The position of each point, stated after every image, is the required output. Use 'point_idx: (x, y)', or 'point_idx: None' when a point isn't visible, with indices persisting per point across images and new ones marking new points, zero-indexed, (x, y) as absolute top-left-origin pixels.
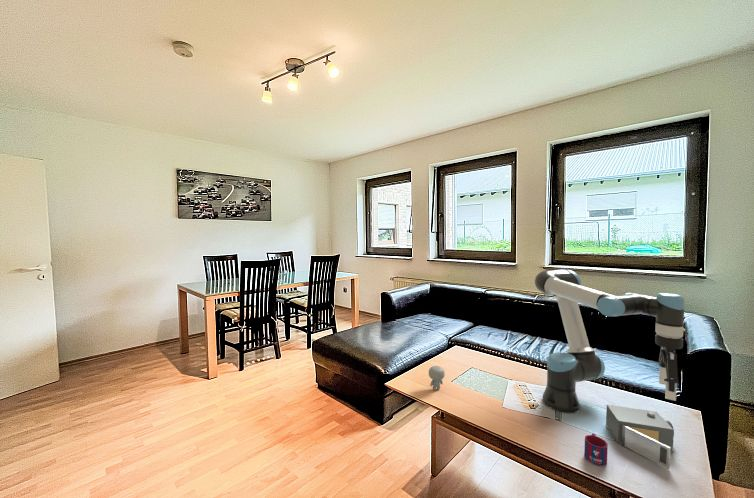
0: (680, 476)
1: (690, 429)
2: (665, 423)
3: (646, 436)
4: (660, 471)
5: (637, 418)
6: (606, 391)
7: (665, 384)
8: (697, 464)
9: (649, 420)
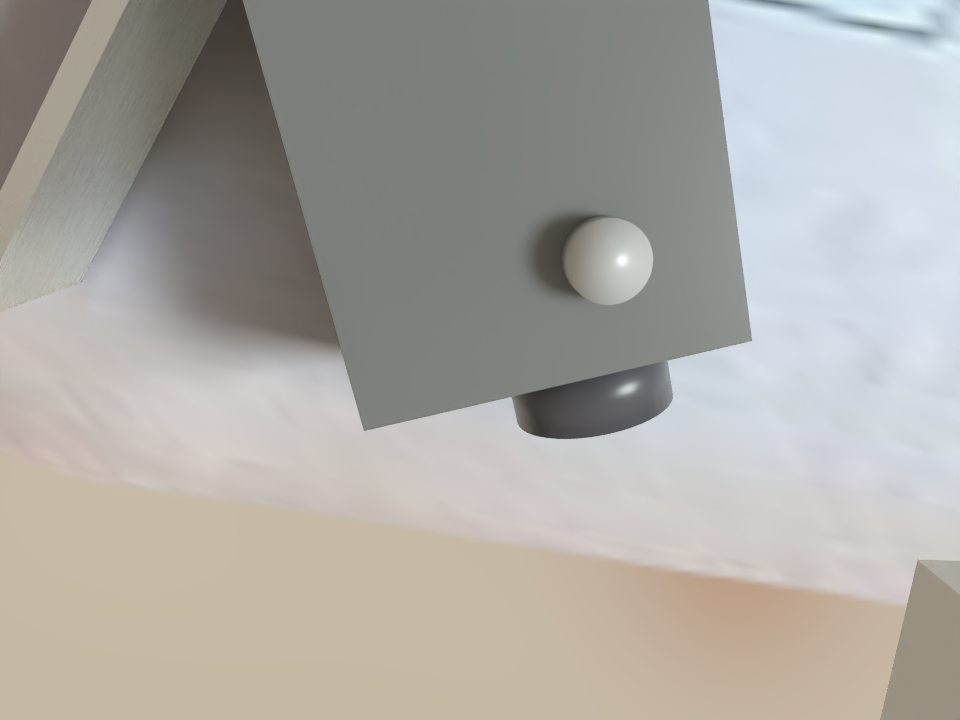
0: (47, 337)
1: (871, 558)
2: (473, 377)
3: (52, 117)
4: None
5: (419, 76)
6: None
7: (895, 680)
8: (318, 485)
9: (448, 216)
